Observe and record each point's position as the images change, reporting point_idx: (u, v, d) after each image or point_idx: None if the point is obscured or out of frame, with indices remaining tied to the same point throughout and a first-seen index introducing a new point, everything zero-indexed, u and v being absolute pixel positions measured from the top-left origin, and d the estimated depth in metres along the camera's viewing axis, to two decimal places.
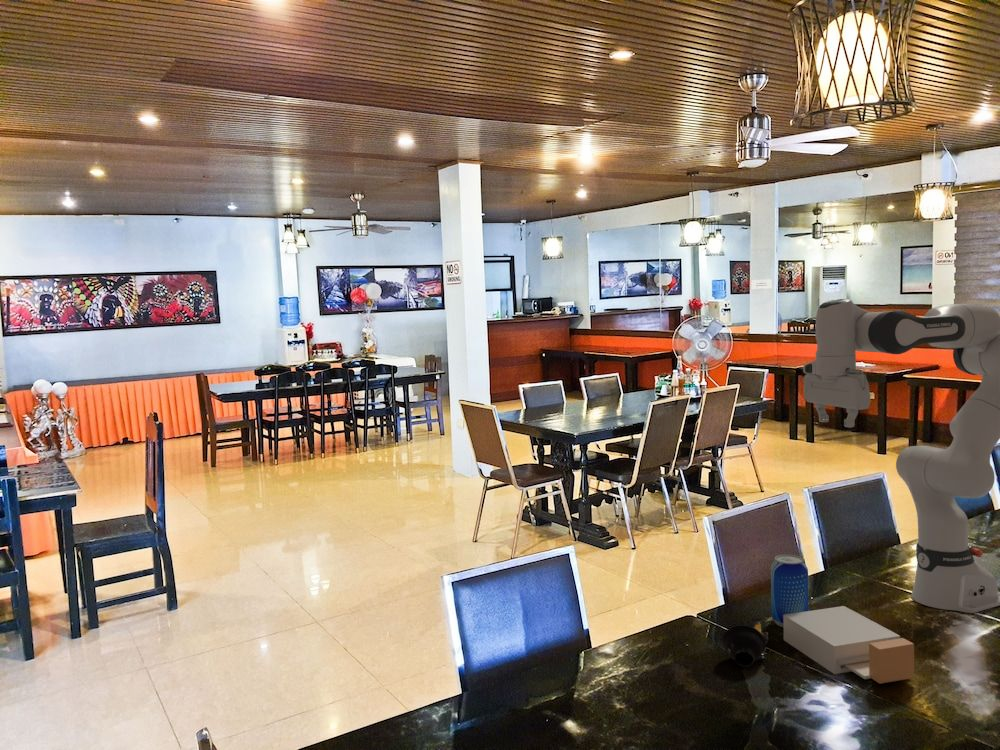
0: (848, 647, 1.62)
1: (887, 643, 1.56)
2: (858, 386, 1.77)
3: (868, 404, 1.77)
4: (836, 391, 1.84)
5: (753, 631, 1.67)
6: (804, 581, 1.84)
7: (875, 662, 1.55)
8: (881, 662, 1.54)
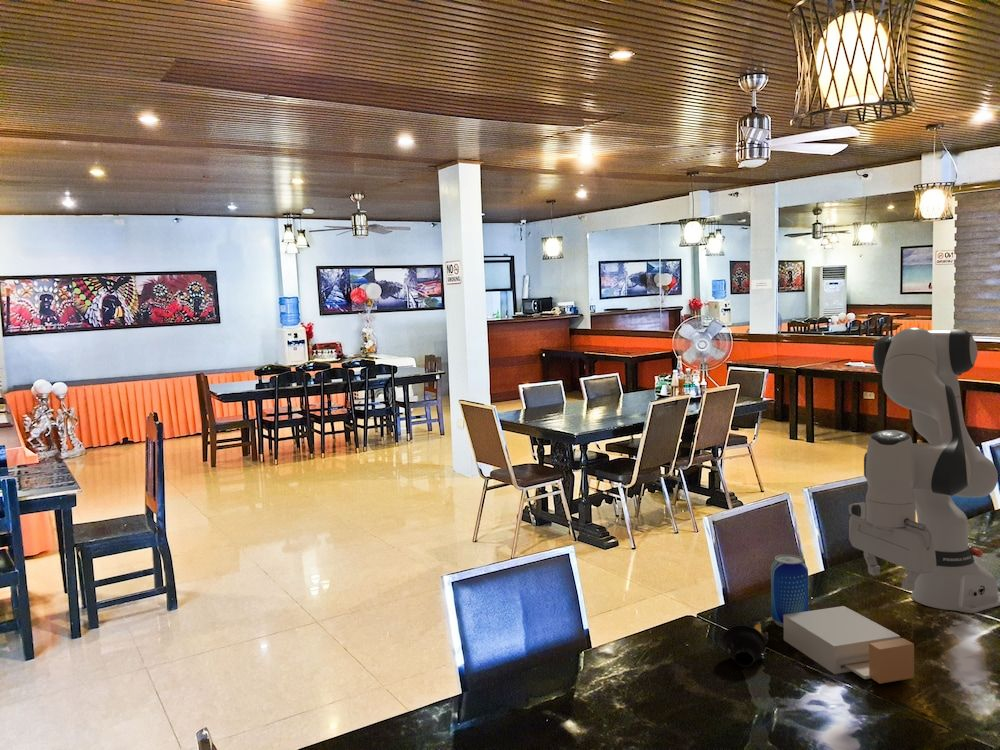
0: (848, 647, 1.62)
1: (887, 643, 1.56)
2: (921, 545, 1.45)
3: (933, 567, 1.45)
4: (892, 545, 1.51)
5: (752, 631, 1.67)
6: (804, 581, 1.84)
7: (875, 662, 1.55)
8: (881, 662, 1.54)
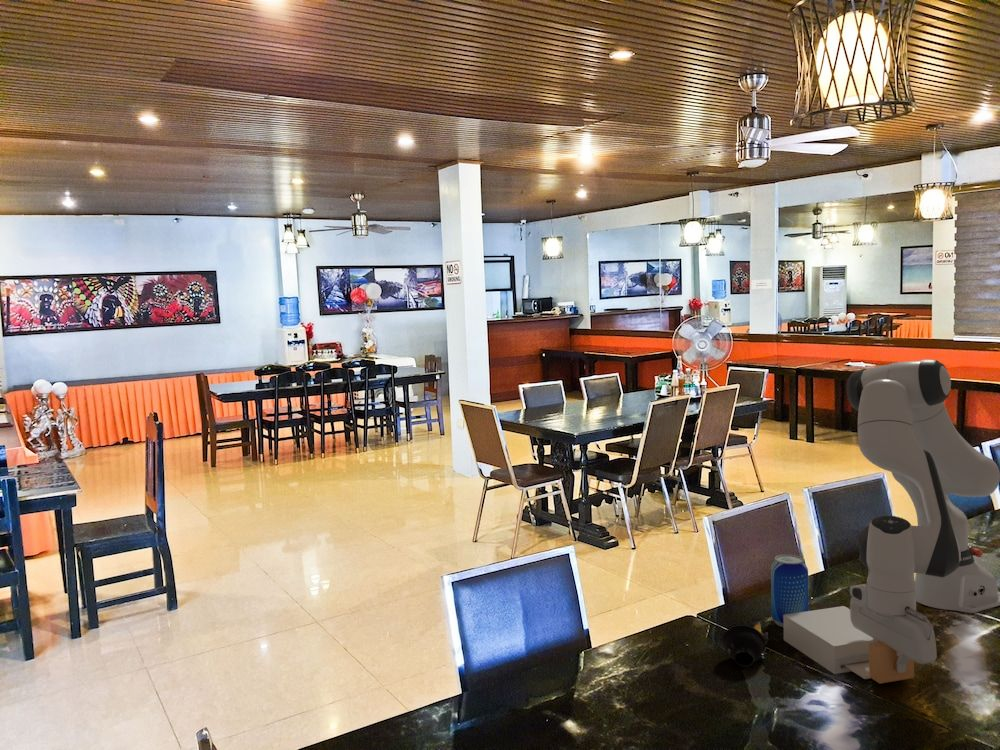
0: (848, 647, 1.62)
1: None
2: (922, 636, 1.46)
3: (934, 658, 1.46)
4: (893, 632, 1.53)
5: (752, 631, 1.67)
6: (804, 581, 1.84)
7: (875, 662, 1.55)
8: (881, 662, 1.54)
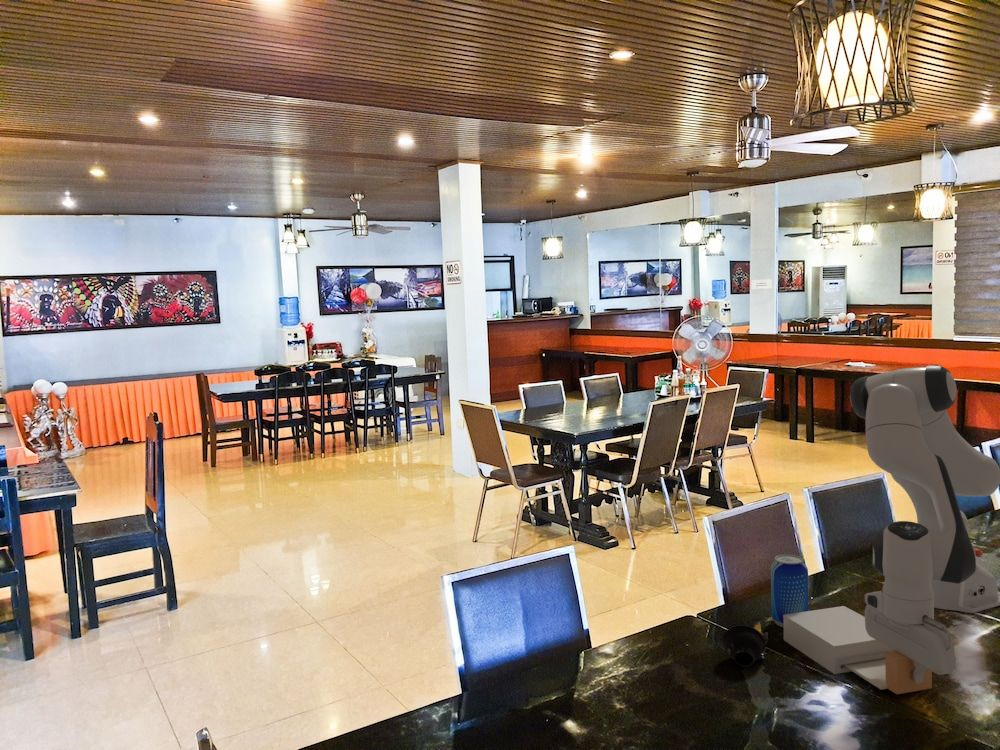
0: (848, 647, 1.62)
1: None
2: (941, 646, 1.41)
3: (953, 669, 1.42)
4: (910, 642, 1.48)
5: (752, 631, 1.67)
6: (804, 581, 1.84)
7: (892, 672, 1.50)
8: (898, 672, 1.49)
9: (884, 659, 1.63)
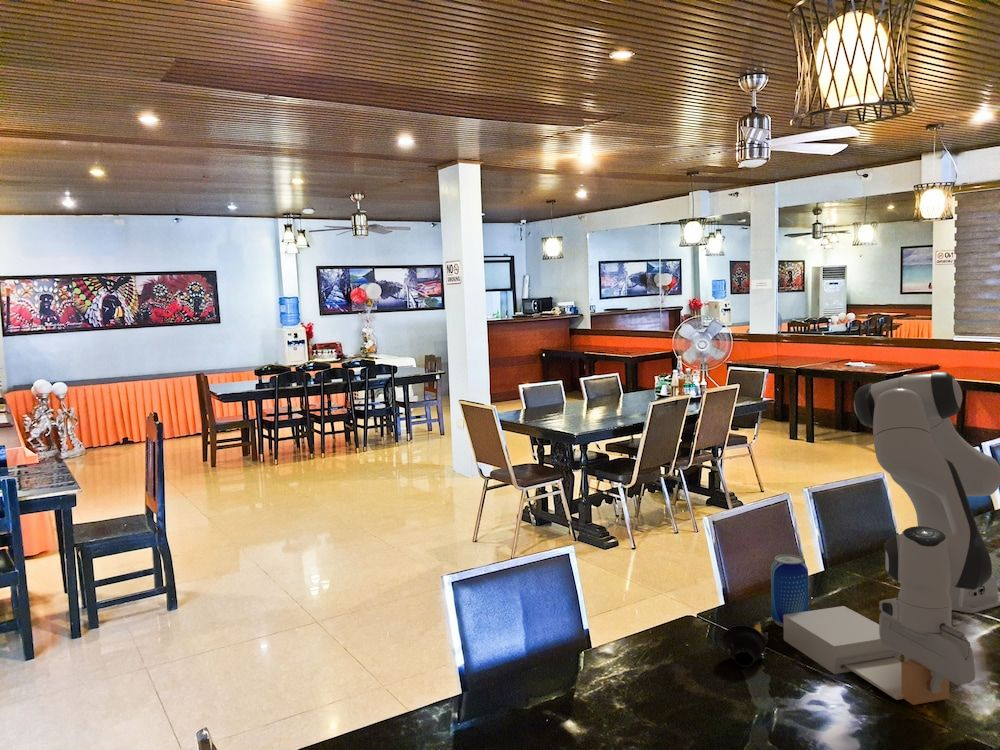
0: (848, 647, 1.62)
1: None
2: (959, 656, 1.37)
3: (972, 678, 1.38)
4: (927, 650, 1.44)
5: (752, 631, 1.67)
6: (804, 581, 1.84)
7: (908, 682, 1.46)
8: (914, 682, 1.45)
9: (899, 668, 1.59)
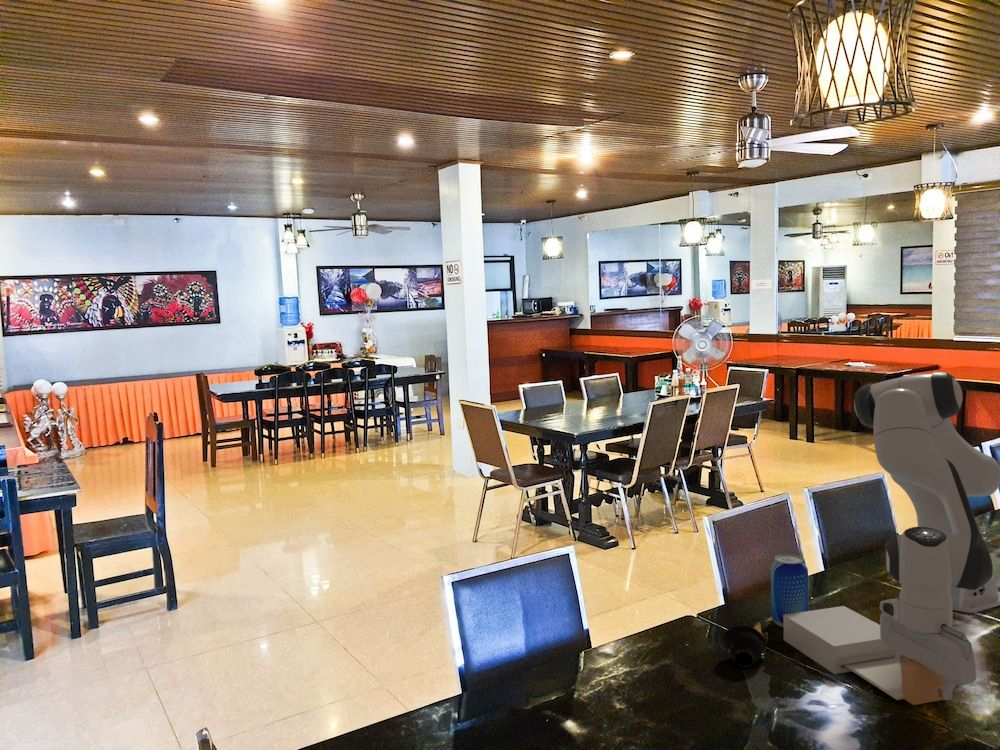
0: (848, 647, 1.62)
1: None
2: (961, 656, 1.37)
3: (973, 679, 1.37)
4: (928, 651, 1.44)
5: (752, 631, 1.67)
6: (804, 581, 1.84)
7: (908, 682, 1.46)
8: (915, 682, 1.45)
9: (899, 668, 1.59)
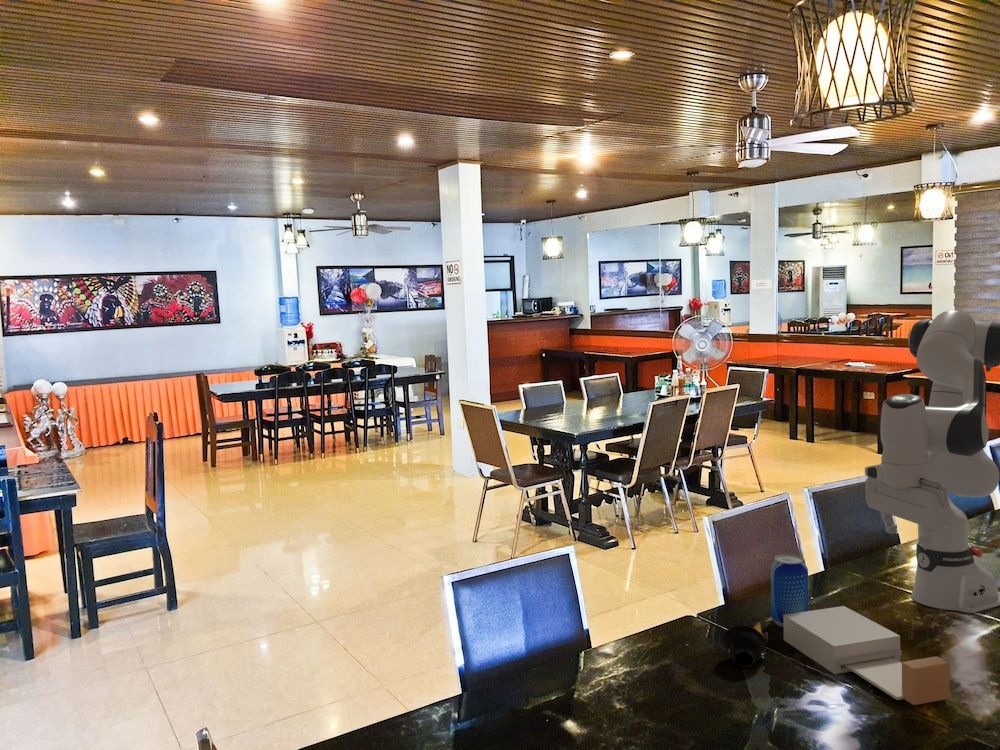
0: (848, 647, 1.62)
1: (921, 662, 1.47)
2: (937, 503, 1.51)
3: (949, 523, 1.52)
4: (908, 504, 1.58)
5: (752, 631, 1.67)
6: (804, 581, 1.84)
7: (908, 682, 1.46)
8: (915, 682, 1.45)
9: (899, 668, 1.59)
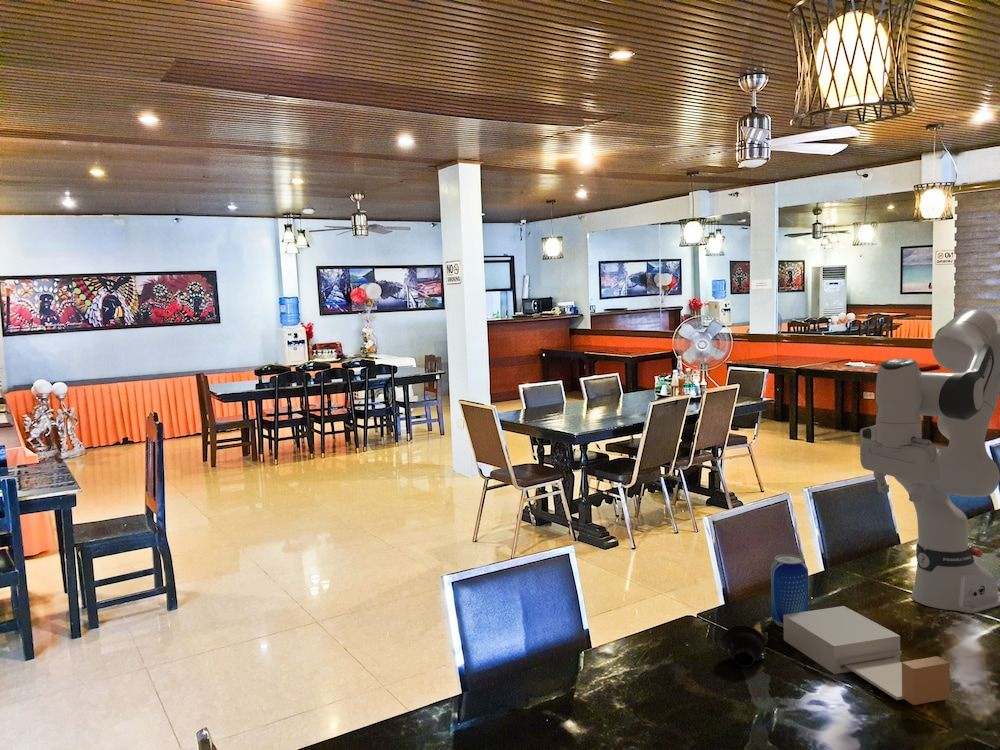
0: (848, 647, 1.62)
1: (921, 662, 1.47)
2: (927, 458, 1.59)
3: (938, 479, 1.59)
4: (900, 462, 1.66)
5: (752, 631, 1.67)
6: (804, 581, 1.84)
7: (908, 682, 1.46)
8: (915, 682, 1.45)
9: (899, 668, 1.59)
